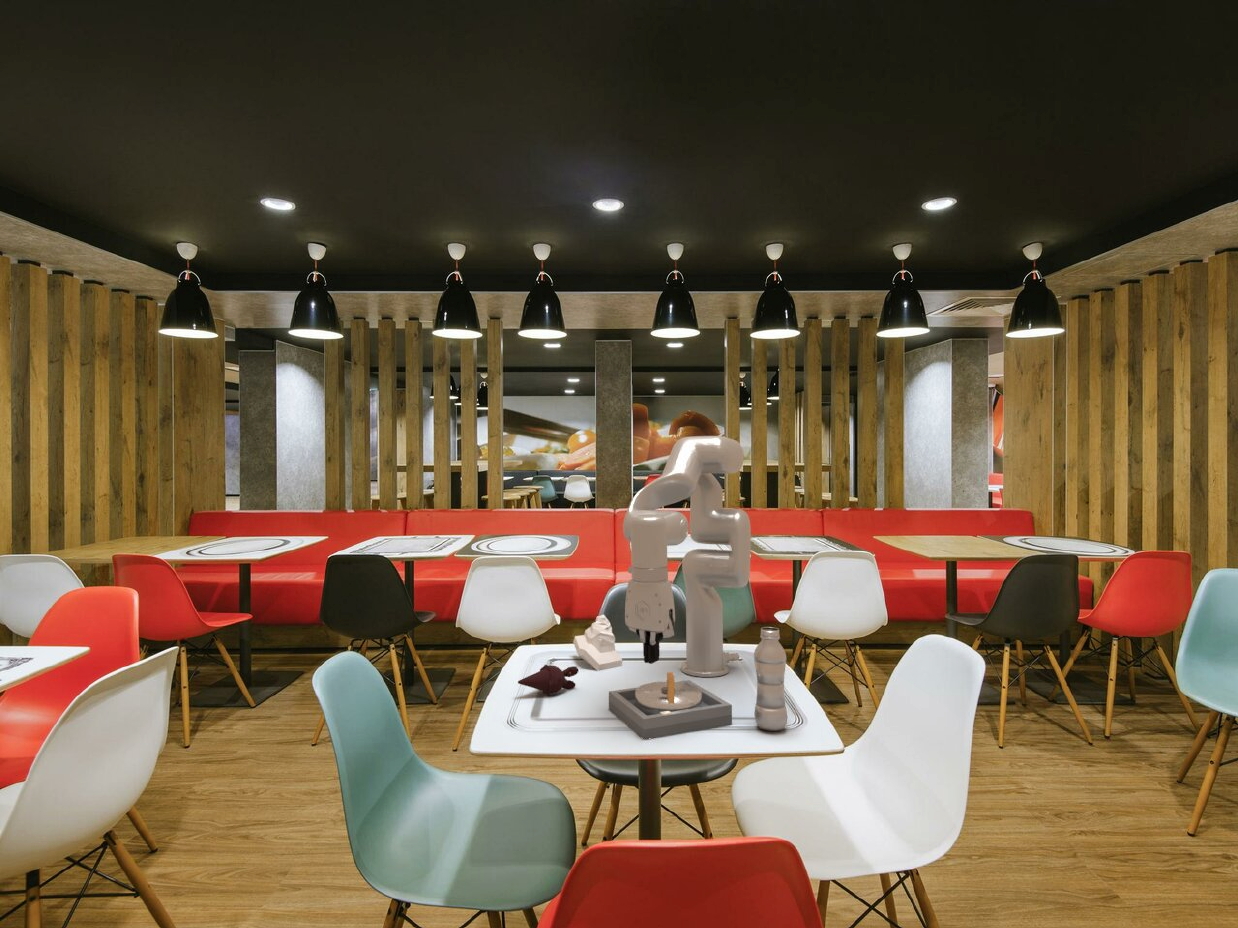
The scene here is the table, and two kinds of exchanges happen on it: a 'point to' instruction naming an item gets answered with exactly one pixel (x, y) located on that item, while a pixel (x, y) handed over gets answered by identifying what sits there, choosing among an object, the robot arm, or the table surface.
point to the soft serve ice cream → (598, 645)
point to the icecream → (550, 679)
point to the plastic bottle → (770, 681)
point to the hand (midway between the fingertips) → (651, 661)
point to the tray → (670, 714)
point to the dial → (667, 696)
